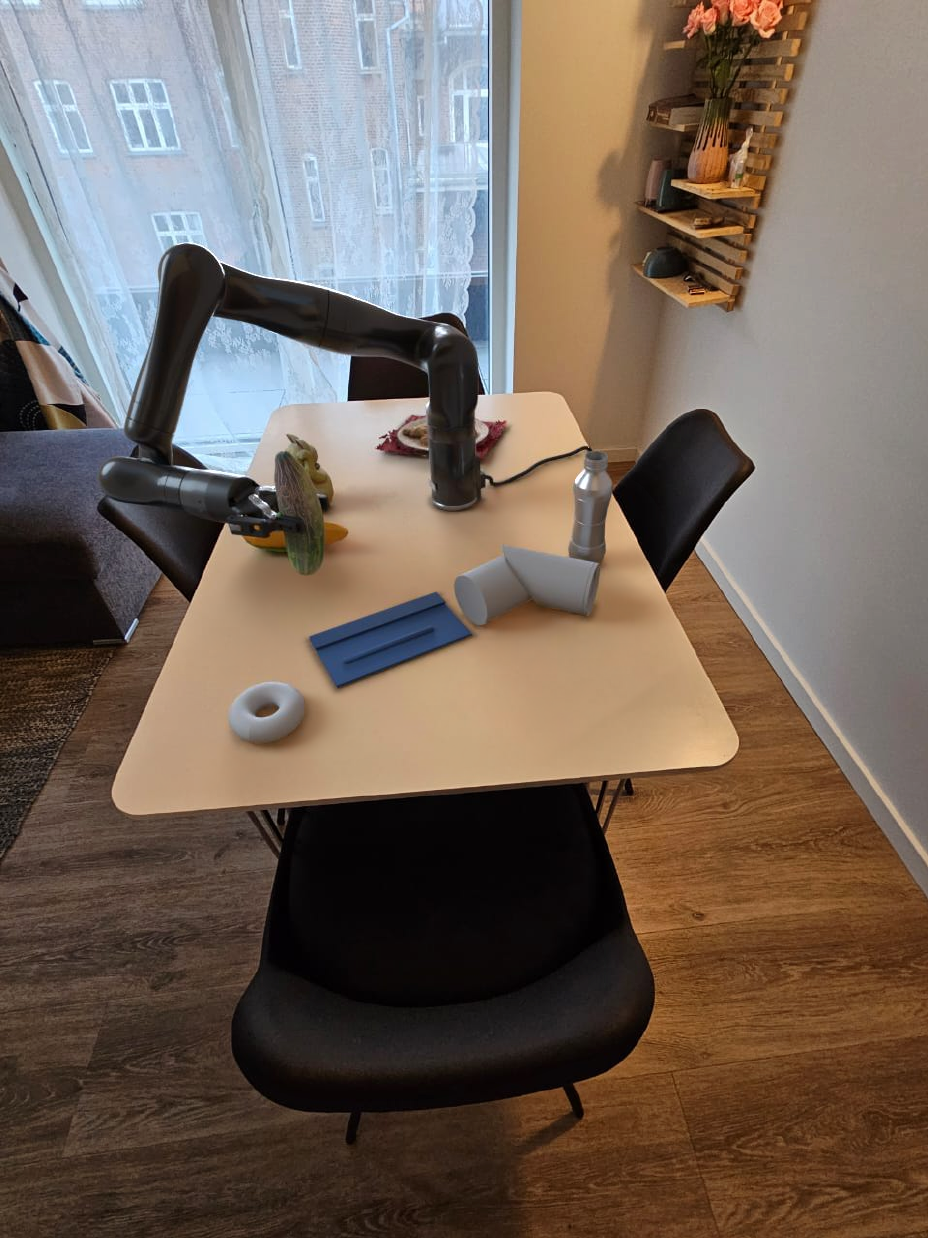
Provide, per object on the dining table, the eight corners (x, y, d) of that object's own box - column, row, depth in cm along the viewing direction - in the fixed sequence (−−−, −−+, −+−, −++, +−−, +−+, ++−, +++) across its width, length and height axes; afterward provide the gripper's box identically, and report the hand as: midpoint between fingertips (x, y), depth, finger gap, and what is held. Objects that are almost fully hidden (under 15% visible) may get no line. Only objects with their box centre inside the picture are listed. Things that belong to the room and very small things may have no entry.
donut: (310, 691, 92) (239, 696, 91) (306, 673, 90) (233, 678, 89) (303, 746, 84) (224, 752, 84) (298, 728, 82) (217, 734, 81)
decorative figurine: (287, 503, 135) (270, 433, 125) (321, 489, 139) (308, 421, 129) (310, 520, 129) (295, 449, 120) (345, 505, 133) (334, 435, 124)
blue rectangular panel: (436, 595, 108) (436, 590, 107) (471, 635, 100) (471, 630, 99) (310, 640, 100) (308, 635, 100) (337, 688, 92) (335, 682, 91)
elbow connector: (538, 552, 115) (447, 596, 106) (550, 505, 107) (452, 549, 98) (608, 616, 106) (516, 670, 97) (627, 571, 98) (528, 625, 89)
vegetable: (311, 556, 104) (286, 437, 91) (342, 567, 101) (321, 446, 88) (285, 576, 100) (256, 454, 87) (316, 587, 97) (291, 464, 85)
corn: (243, 501, 120) (349, 501, 118) (254, 534, 125) (356, 535, 124) (230, 524, 114) (341, 524, 113) (242, 558, 120) (348, 559, 118)
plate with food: (481, 467, 145) (481, 452, 143) (375, 453, 151) (373, 439, 149) (507, 426, 162) (508, 413, 160) (411, 415, 169) (411, 402, 166)
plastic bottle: (607, 554, 116) (620, 449, 103) (600, 575, 111) (613, 467, 98) (571, 548, 118) (580, 444, 105) (563, 569, 113) (571, 462, 100)
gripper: (180, 496, 91) (283, 516, 86) (242, 453, 101) (337, 469, 96) (196, 542, 95) (293, 563, 90) (254, 496, 106) (344, 513, 101)
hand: (315, 514), depth 93 cm, fingers closed on vegetable, 6 cm apart
